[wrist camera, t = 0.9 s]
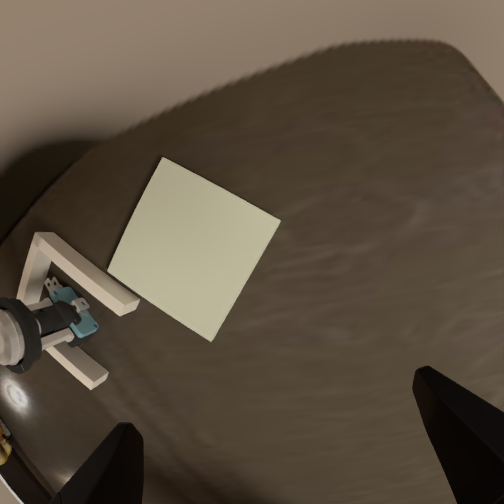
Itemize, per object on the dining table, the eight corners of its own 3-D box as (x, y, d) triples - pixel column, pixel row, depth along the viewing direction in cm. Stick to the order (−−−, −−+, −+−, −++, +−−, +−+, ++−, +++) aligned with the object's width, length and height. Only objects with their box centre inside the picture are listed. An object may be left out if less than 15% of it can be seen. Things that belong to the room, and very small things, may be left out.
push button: (44, 295, 25) (-35, 313, 16) (70, 258, 25) (-17, 267, 15) (83, 351, 25) (7, 390, 15) (113, 318, 24) (30, 353, 14)
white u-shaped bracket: (105, 379, 25) (91, 390, 22) (29, 310, 26) (12, 315, 23) (140, 299, 24) (124, 305, 21) (53, 232, 25) (35, 232, 22)
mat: (212, 339, 23) (211, 341, 23) (110, 270, 24) (107, 271, 24) (281, 221, 22) (280, 220, 21) (165, 158, 23) (163, 156, 22)
